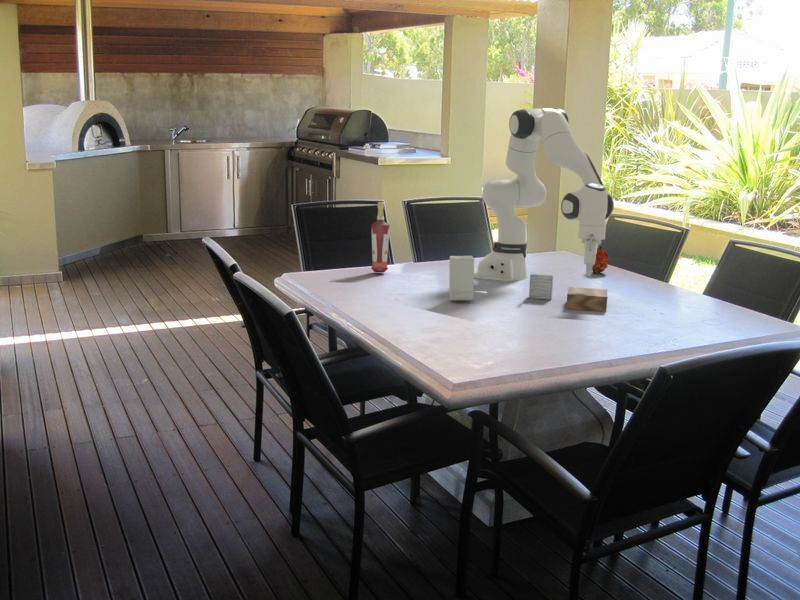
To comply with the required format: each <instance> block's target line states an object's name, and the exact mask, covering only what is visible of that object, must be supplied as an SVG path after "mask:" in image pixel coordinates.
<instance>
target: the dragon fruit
mask: <svg viewBox="0 0 800 600" xmlns="http://www.w3.org/2000/svg"><path fill="white" fill-rule="evenodd" d="M609 263H610V260H609V254H608V252H606V251H605V249H604V248H603V247H602V246H601V245H599V247H598V248H597V253H596V260H595V264H594V265H593V267H592V273H596V274H597V273H600V274H602V273H603V272H604V271H605V270H606V269H607V268H608V266H609Z"/></svg>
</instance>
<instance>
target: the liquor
mask: <svg viewBox="0 0 800 600" xmlns="http://www.w3.org/2000/svg"><path fill="white" fill-rule="evenodd" d="M376 207H377V217H376V221H374V222H373V223H371V227H370V228H371V260H372V261H371V262H372V263H371V268H370V269H371V270H372V271H373V272H375V273H385V272H386V271H387V270H389V268H388V253H389V252H388V251H389V240H390V239H389V238H390V224H389V223H388V222H386V221H385V215H384V209H385V202H384V201H377V205H376Z"/></svg>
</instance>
